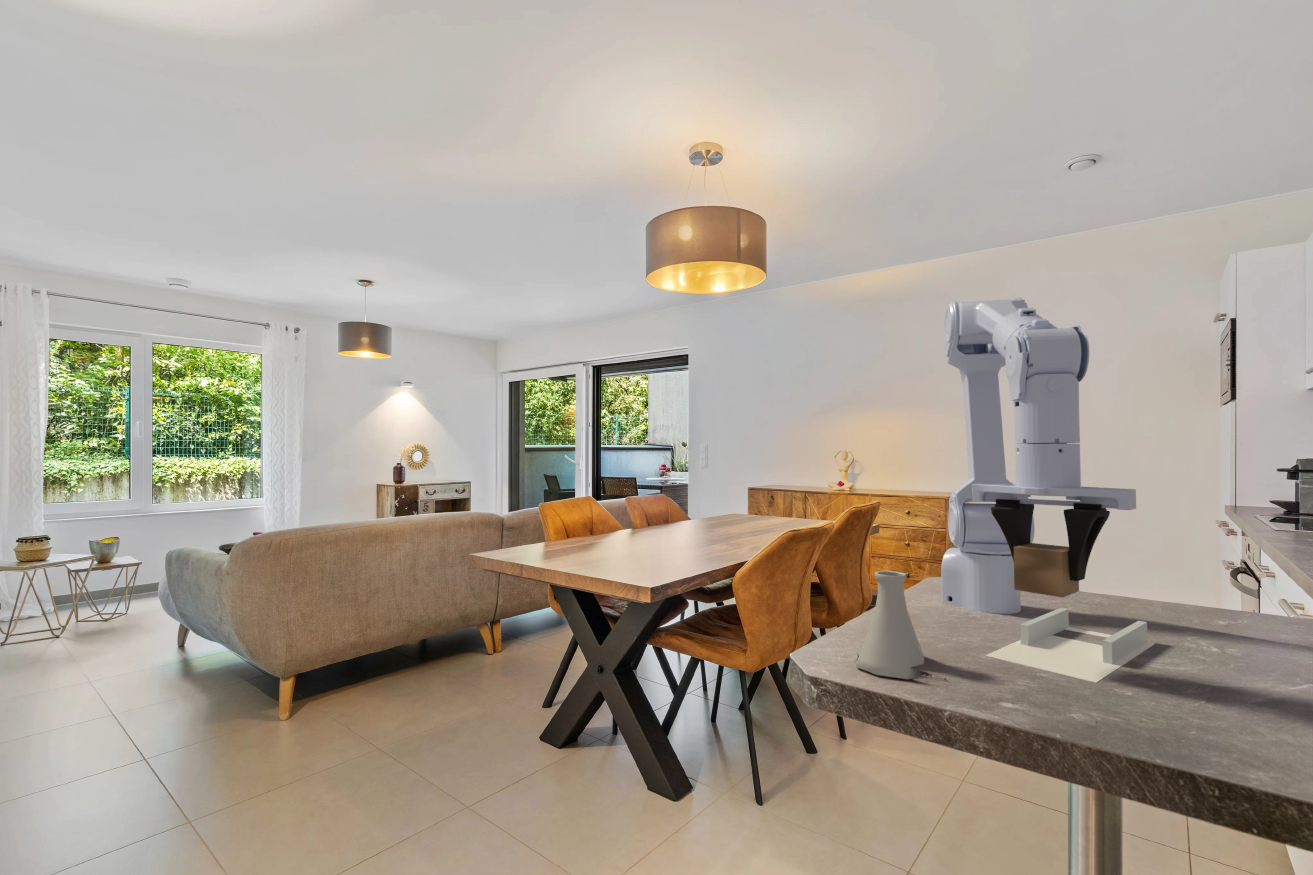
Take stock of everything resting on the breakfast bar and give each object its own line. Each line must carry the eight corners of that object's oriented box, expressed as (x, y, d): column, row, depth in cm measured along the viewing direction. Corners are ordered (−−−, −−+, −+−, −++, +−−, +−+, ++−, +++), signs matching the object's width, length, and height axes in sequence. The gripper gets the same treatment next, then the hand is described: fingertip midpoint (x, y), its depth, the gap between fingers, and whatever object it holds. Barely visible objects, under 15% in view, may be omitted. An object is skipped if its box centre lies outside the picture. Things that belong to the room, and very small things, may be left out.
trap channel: (985, 666, 66) (984, 634, 66) (1055, 633, 78) (1054, 606, 78) (1096, 695, 58) (1095, 658, 58) (1155, 653, 70) (1154, 623, 70)
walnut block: (1014, 589, 64) (1013, 546, 64) (1031, 583, 67) (1031, 542, 67) (1062, 597, 61) (1061, 552, 61) (1079, 591, 64) (1078, 547, 64)
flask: (843, 669, 65) (842, 573, 66) (873, 653, 71) (872, 564, 71) (913, 686, 61) (912, 583, 61) (939, 667, 66) (938, 572, 66)
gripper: (958, 444, 68) (960, 570, 68) (1118, 442, 57) (1121, 593, 56) (987, 445, 72) (989, 562, 72) (1141, 443, 61) (1144, 582, 61)
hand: (1049, 575), depth 64 cm, fingers closed on walnut block, 4 cm apart
